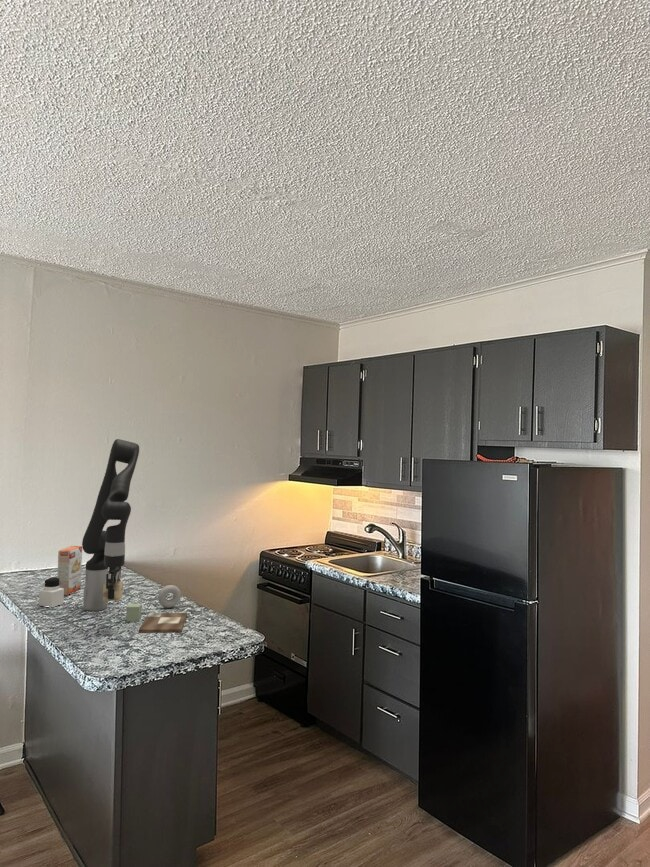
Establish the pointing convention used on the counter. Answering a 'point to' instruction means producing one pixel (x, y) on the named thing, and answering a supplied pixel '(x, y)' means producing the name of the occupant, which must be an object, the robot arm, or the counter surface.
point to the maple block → (117, 591)
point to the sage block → (133, 612)
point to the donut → (165, 591)
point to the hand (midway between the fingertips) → (112, 596)
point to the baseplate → (163, 622)
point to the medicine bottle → (51, 593)
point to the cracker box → (70, 568)
